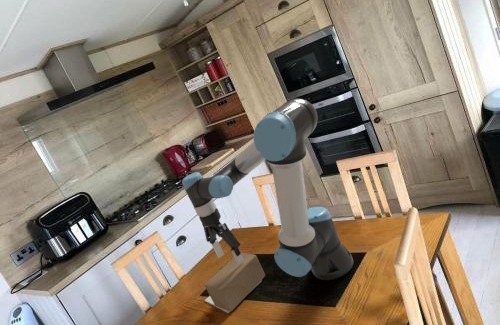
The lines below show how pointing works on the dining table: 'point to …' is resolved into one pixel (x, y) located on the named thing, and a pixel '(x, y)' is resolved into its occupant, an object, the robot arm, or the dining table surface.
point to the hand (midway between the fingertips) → (230, 259)
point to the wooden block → (235, 281)
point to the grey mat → (219, 307)
